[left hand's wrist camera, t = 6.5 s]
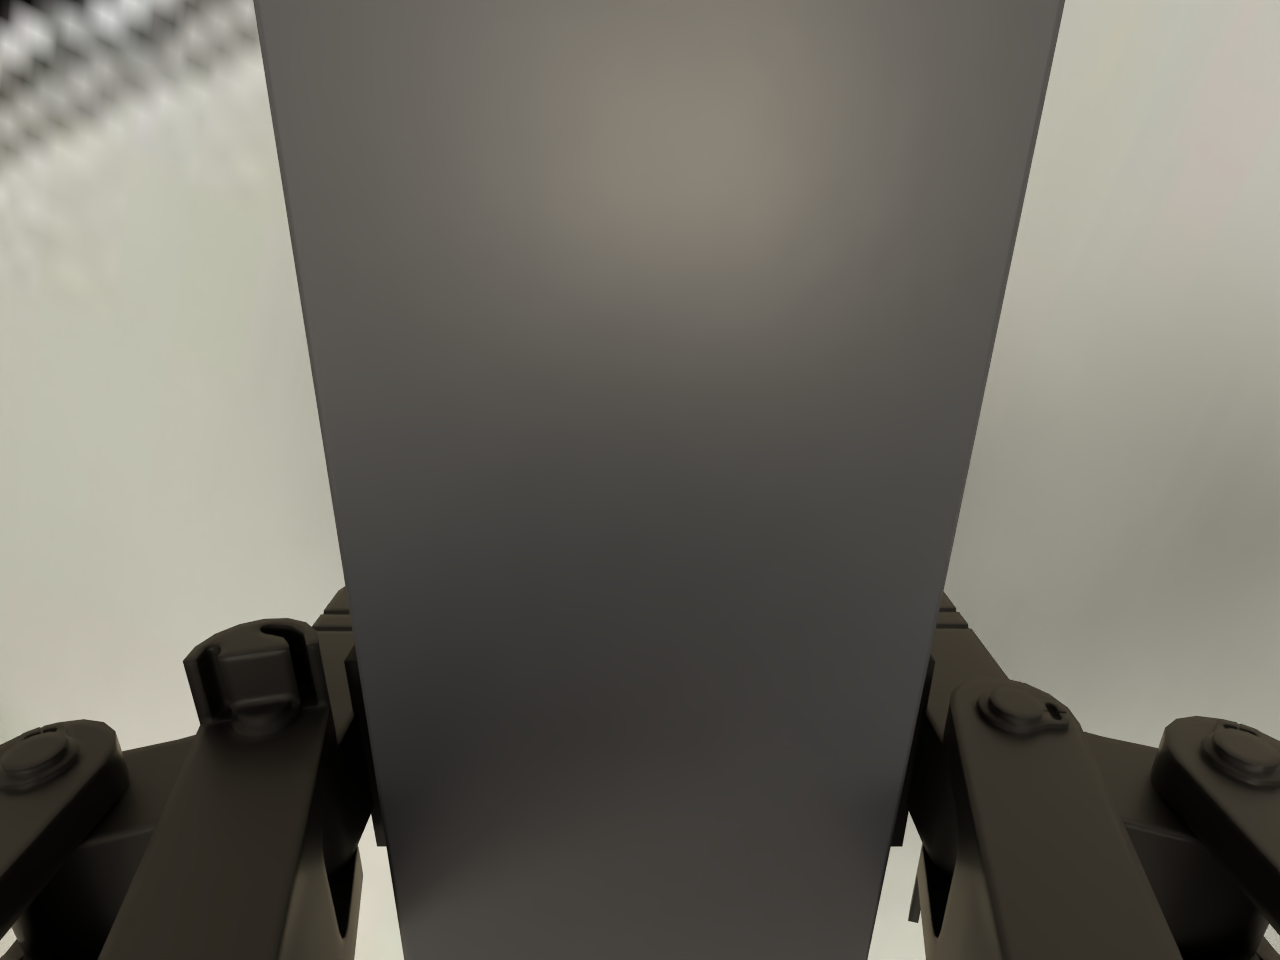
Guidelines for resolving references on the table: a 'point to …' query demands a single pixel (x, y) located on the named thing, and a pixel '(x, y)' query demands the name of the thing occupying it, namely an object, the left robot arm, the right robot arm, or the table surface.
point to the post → (648, 436)
